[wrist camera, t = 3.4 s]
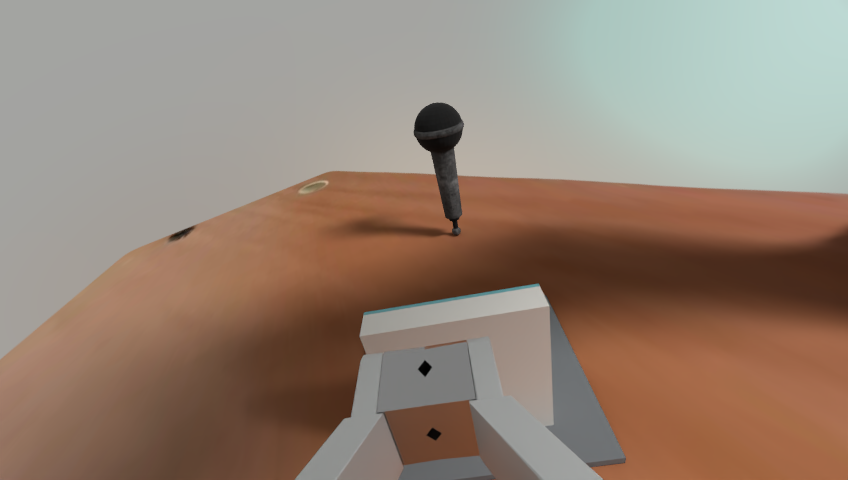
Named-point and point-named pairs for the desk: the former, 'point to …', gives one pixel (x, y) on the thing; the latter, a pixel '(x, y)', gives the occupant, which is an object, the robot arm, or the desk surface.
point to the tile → (479, 317)
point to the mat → (573, 425)
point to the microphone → (442, 152)
